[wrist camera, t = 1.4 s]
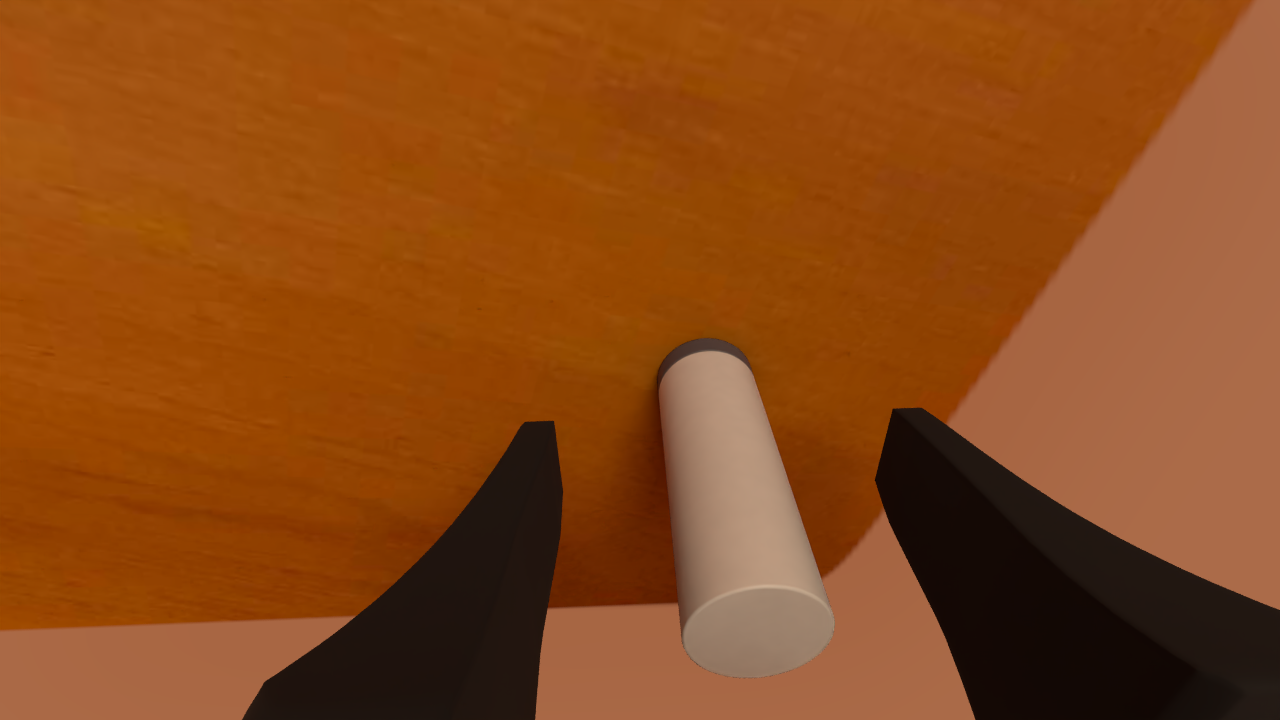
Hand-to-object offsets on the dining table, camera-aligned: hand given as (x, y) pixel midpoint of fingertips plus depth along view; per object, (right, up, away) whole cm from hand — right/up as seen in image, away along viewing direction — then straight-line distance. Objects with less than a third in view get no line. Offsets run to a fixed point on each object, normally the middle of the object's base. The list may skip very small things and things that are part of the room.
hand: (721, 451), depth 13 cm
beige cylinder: (0, +2, +2) cm, 3 cm away
